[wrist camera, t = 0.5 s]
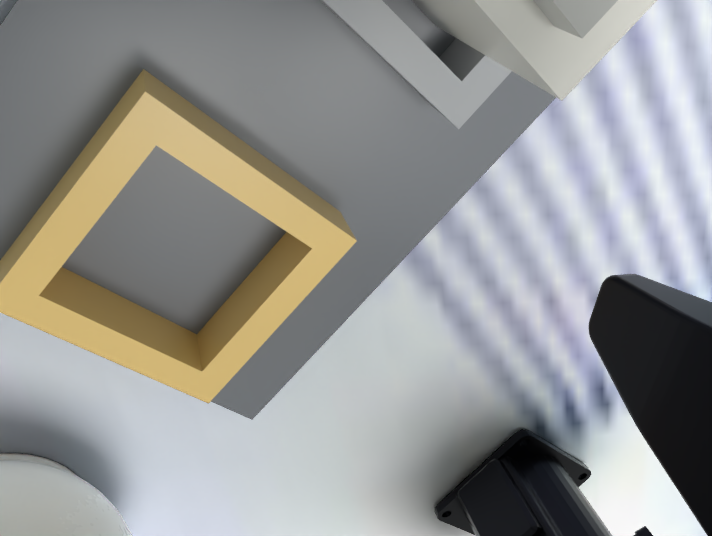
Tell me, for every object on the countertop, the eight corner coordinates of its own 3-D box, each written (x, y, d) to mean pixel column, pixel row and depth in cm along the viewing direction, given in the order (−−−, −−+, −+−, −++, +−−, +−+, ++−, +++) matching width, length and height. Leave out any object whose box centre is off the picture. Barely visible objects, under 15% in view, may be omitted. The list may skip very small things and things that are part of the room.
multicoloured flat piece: (670, -51, 22) (739, -37, 19) (248, 401, 27) (260, 458, 24) (377, -537, 14) (430, -616, 12) (-136, 226, 19) (-174, 283, 17)
